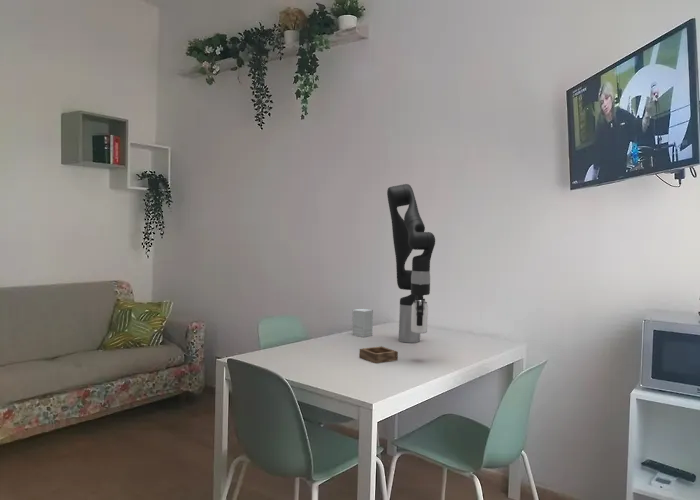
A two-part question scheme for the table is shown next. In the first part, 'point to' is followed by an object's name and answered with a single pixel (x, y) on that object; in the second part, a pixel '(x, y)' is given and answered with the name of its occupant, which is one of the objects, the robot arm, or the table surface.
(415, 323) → the can
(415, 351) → the table surface
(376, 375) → the table surface
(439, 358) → the table surface
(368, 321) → the supplement box
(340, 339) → the table surface
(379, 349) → the tray
